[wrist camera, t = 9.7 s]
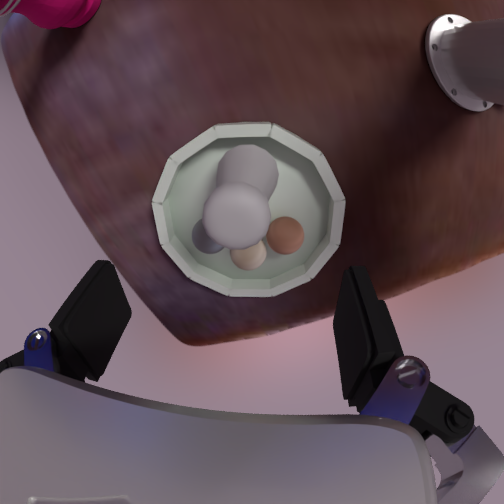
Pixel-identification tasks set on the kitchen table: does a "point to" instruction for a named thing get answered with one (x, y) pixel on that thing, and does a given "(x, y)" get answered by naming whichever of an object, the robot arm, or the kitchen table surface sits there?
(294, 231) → the bead terracotta
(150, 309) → the kitchen table surface
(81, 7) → the pepper mill
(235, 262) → the bead cream
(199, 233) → the dusty blue bead
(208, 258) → the tray
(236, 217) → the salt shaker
